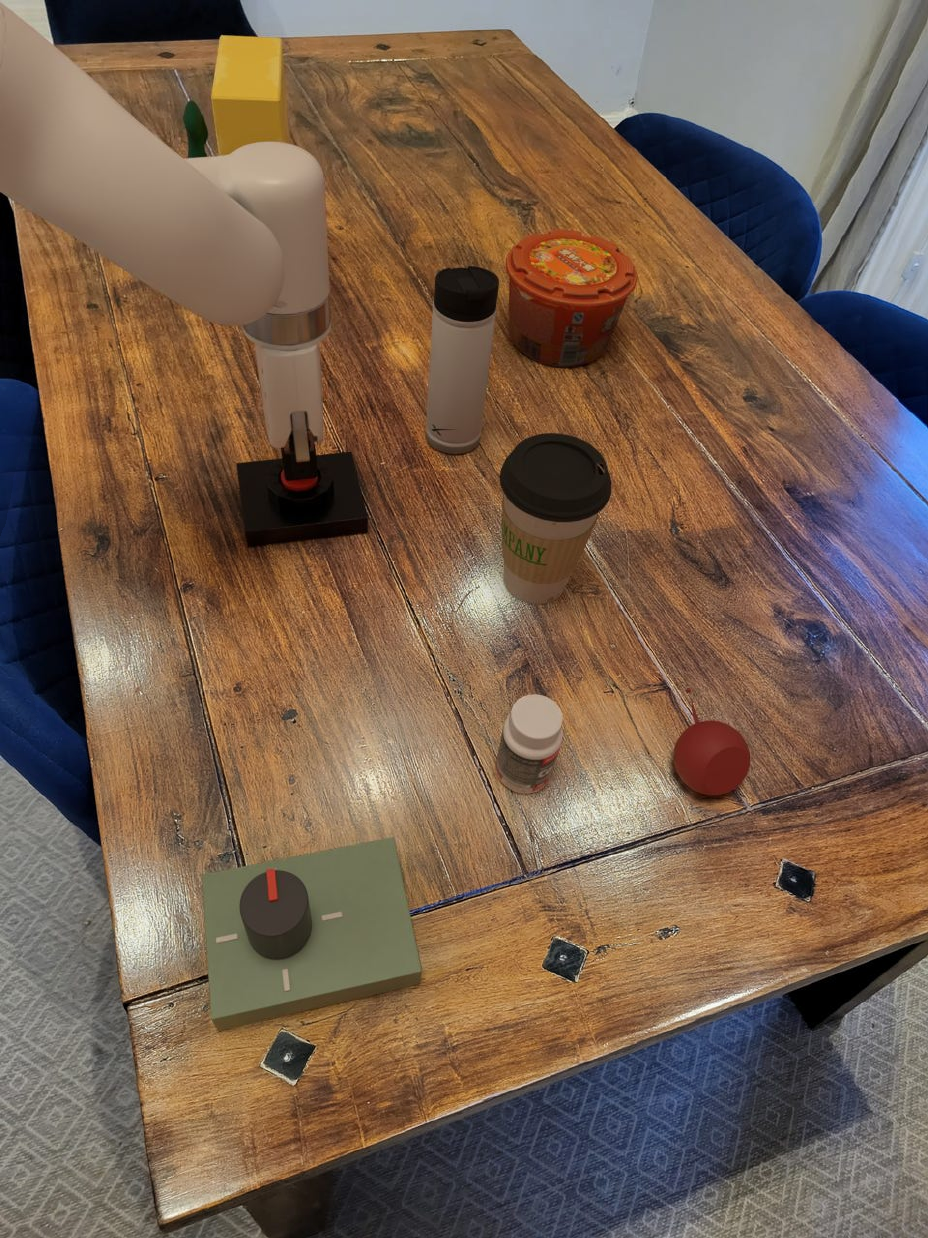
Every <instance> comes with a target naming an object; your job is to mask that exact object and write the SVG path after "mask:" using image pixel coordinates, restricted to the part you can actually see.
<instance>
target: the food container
mask: <svg viewBox="0 0 928 1238" xmlns="http://www.w3.org/2000/svg"><path fill="white" fill-rule="evenodd" d="M505 270H506V274H507V276H508V280H509V281H508V333H509V338H510V340H511V342H512V344H513V345H514V346H515V348H517V349H518V351H520V352H521V353H523V354H524V355H525V356H526V357H528V358H530V359H531V360H534V361H535V362H538V363H540V364H544V365H547V366H548V365H549V366H553V367H558V368H572V367H579V366H586V365H588V364H591V363H594V362H595V361H597V360H599V359H601V357H602V356H603V355H604V354H605V353H606V351H607V349H608V347H609V344H610V342H611V339H612V337H613V334H614V332H615V329H616V327H617V324H618V322H619V319H620V316H621V314H622V312H623V309H624V308H625V307H624V306H625V304H626V302H627V299H628V297H629V296H630V295H631V294H632V293H633V292H634V291H635V289H636V287H637V285H638V281H639V279H638V278H639V277H638V270H637V268H636V266H635V264H634V263H633V261H632V259H631V258H630V256H629V255H627V254H625V253H623V252H622V251H621V250H620V248H619V246H618V245H617V244H615V243H613V242H612V241H609V240H608V239H605V238H604V237H601V236H599V235H595V234H592V235H590V236H585V235H583V233H582V231H579V230H571V229H551V230H549V231H548V233H541V234H540V233H538V232H534V233H532V234H531V233H530V234H529V235H527V236H525V237H524V238H522V239H521V240H519V241H518V242H517V243H516V244H515V245H513V246H512V248H511V249H509V251H508V253H507V256H506V258H505Z"/></svg>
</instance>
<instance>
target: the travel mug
mask: <svg viewBox="0 0 928 1238" xmlns="http://www.w3.org/2000/svg"><path fill="white" fill-rule="evenodd" d="M499 287H500V278H499V277H498V275H496V273H494V272H492V271H491V270H489V269H487V268H484V267H480V266H476V265H475V266H473V265H467V267H452V268H451V267H446V268H442V269H441V270H439V271H438V272H437V273H436V274H435V277H434V293H433V301H432V316H431V317H432V318H431V332H430V333H431V334H430V352H429V365H428V366H429V368H428V385H427V402H426V418H425V435H424V436H425V439H426V441H427V443H428V444H429V445H430V446H431V447H432V449H433V448H434V449H435V450H436V451H438V452H441V453H443V454H447V455H463V454H467V453H469V452H472V451H473V450H475V449H476V448H477V447H478V446H479V444H480V442H481V438H482V430H483V423H484V414H485V406H486V397H487V391H488V381H489V372H490V365H491V357H492V349H493V340H494V334H495V333H494V331H495V326H496V325H495V324H496V317H497V315H496V314H497V302H498V301H497V300H498V297H499V296H498V295H499Z"/></svg>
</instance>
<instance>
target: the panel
mask: <svg viewBox="0 0 928 1238" xmlns="http://www.w3.org/2000/svg"><path fill="white" fill-rule="evenodd" d="M269 869H275V870H282V871H287V872H290V873H292V874H294V875H295V876H297V877H298V878H299V879H300V880H301V881H302V882H303V884H304V885H305V887H306V890H307V893H308V899H309V905H310V911H311V918H312V931H311V935H310V937H309V939H308V941H307V943H306V944H305V946H304V947H303V948H302V949H301V950H300V951H299V952H297V953H296V954H295V955H293V956H291V957H288V958H285V959H279V960H274V959H268V958H265V957H263V956H261V955H260V954H258V953H257V952H256V951H255V950H254V949H253V947H252V946H251V944H250V942H249V939H248V936H247V933H246V930H245V927H244V924H243V921H242V918H241V915H240V910H239V904H240V899H241V895H242V893H243V891H244V889H245V887H246V886H247V885H248V884H249V883H250V881H252V880H253V879H254V878H255V877H257V876H258V875H260V874H262V873H265V872H266V870H269ZM201 887H202V888H201V889H202V903H203V918H204V932H205V933H204V934H205V935H204V936H205V949H206V963H207V964H206V965H207V976H208V979H207V981H208V991H209V993H208V996H209V1009H210V1020H211V1022H212V1023H213V1025H214V1027H215V1029H216V1031H218V1032H221V1031H225V1030H229V1029H233V1028H237V1027H242V1026H246V1025H250V1024H255V1023H259V1022H263V1021H267V1020H272V1019H276V1018H280V1017H284V1016H289V1015H294V1014H297V1013H301V1012H306V1011H310V1010H314V1009H319V1008H323V1007H328V1006H331V1005H336V1004H341V1003H346V1002H349V1001H354V1000H358V999H362V998H366V997H370V996H375V995H379V994H384V993H388V992H392V991H396V990H397V991H398V990H401V989H405V988H409V987H414V986H418V985H421V980H422V973H423V970H422V969H423V968H422V964H421V963H422V962H421V958H420V955H419V949H418V944H417V941H416V936H415V930H414V926H413V921H412V917H411V916H412V915H411V911H410V907H409V902H408V897H407V893H406V887H405V882H404V877H403V873H402V868H401V864H400V858H399V854H398V848H397V844H396V840H395V837H394V836H392V837H388V838H382V839H376V840H371V841H366V842H362V843H357V844H352V845H351V844H350V845H345V846H341V847H335V848H330V849H326V850H321V851H315V852H310V853H304V854H300V855H294V856H290V857H285V858H280V859H275V860H269V861H264V862H259V863H254V864H249V865H244V866H238V867H233V868H228V869H227V868H226V869H223V870H217V871H212V872H208V873H202V874H201Z"/></svg>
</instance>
